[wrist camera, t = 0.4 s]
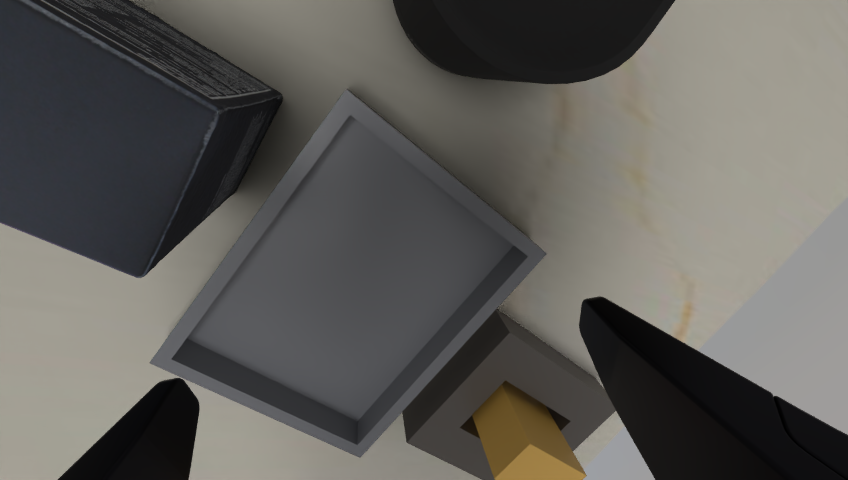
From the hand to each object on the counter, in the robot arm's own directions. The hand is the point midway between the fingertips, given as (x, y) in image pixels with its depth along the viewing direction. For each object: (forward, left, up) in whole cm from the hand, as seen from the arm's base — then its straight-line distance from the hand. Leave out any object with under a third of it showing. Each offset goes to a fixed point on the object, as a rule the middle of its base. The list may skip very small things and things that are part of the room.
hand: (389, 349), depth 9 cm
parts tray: (-5, -3, -15) cm, 16 cm away
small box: (-2, +11, -15) cm, 19 cm away
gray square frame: (-6, -17, -15) cm, 23 cm away
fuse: (-6, -17, -15) cm, 23 cm away
